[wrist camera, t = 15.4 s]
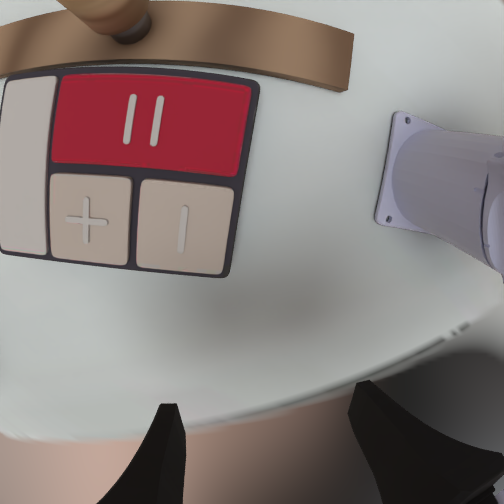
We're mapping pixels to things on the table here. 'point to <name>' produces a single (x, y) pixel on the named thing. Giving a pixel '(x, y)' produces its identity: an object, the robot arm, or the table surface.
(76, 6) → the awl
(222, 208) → the calculator
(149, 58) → the board
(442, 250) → the table surface
